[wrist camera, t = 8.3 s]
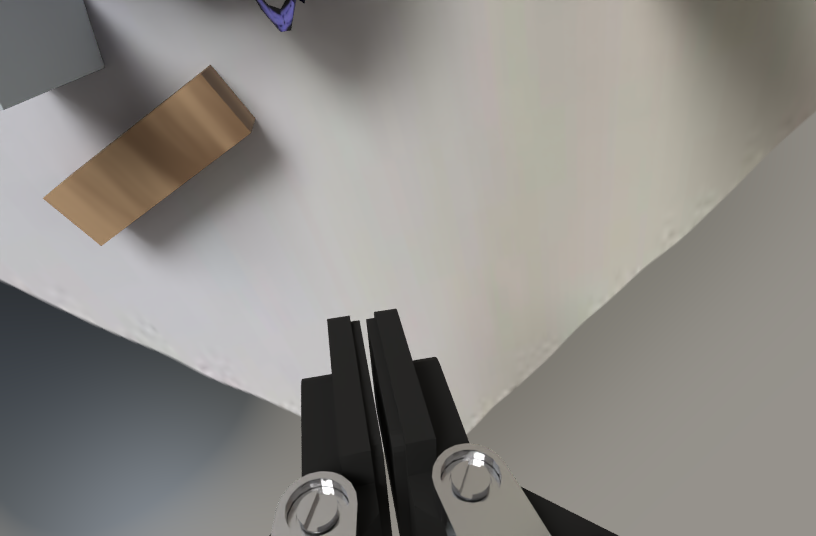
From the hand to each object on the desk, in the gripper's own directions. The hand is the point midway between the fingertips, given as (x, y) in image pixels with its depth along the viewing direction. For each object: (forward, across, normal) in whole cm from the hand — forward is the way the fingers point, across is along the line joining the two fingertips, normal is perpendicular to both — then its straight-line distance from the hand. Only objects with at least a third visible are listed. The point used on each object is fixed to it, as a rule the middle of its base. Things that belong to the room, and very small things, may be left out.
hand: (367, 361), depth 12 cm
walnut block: (+23, +5, -2) cm, 24 cm away
